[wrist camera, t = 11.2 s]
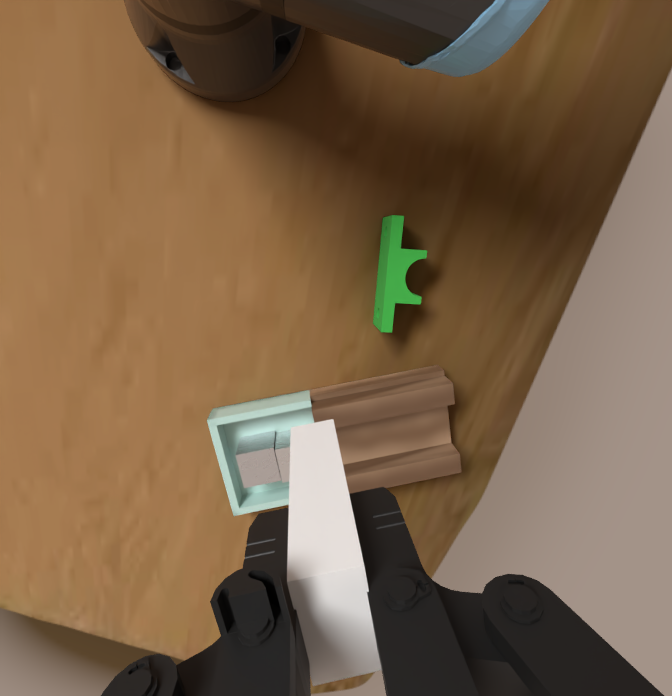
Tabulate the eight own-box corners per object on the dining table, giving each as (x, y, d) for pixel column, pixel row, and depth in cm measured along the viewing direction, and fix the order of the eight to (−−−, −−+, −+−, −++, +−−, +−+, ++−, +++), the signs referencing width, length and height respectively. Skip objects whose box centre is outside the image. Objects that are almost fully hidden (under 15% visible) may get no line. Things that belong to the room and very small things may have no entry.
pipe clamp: (405, 324, 45) (417, 334, 41) (372, 323, 45) (380, 332, 40) (417, 219, 42) (431, 218, 38) (382, 217, 42) (392, 214, 38)
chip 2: (276, 432, 46) (274, 449, 42) (311, 425, 46) (312, 442, 43) (283, 462, 47) (282, 482, 43) (317, 456, 47) (319, 475, 44)
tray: (212, 408, 45) (206, 420, 42) (309, 389, 46) (310, 399, 43) (237, 499, 49) (233, 516, 46) (327, 481, 49) (329, 496, 46)
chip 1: (240, 437, 46) (235, 455, 42) (275, 430, 46) (273, 447, 42) (248, 467, 47) (244, 488, 43) (282, 461, 47) (281, 480, 43)
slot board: (309, 389, 46) (310, 405, 42) (437, 364, 47) (452, 377, 42) (327, 481, 49) (330, 504, 45) (447, 456, 50) (461, 477, 46)
